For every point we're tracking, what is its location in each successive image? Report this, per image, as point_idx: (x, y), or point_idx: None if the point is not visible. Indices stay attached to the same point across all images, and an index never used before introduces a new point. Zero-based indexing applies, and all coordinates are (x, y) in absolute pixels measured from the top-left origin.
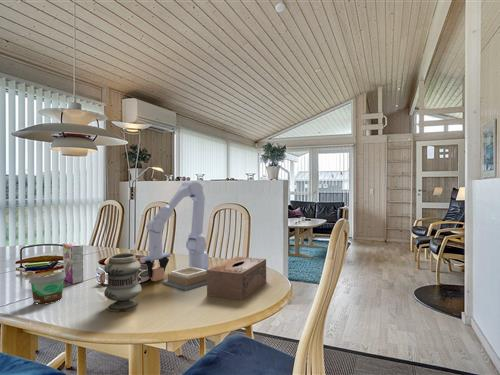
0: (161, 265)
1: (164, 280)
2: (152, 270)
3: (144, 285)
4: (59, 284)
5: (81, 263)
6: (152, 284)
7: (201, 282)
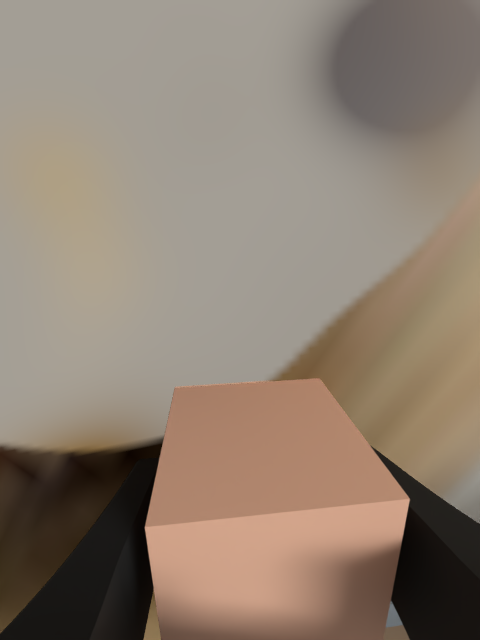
0: (440, 611)
1: None
2: (165, 632)
3: (26, 560)
4: None
5: None
6: None
7: None
